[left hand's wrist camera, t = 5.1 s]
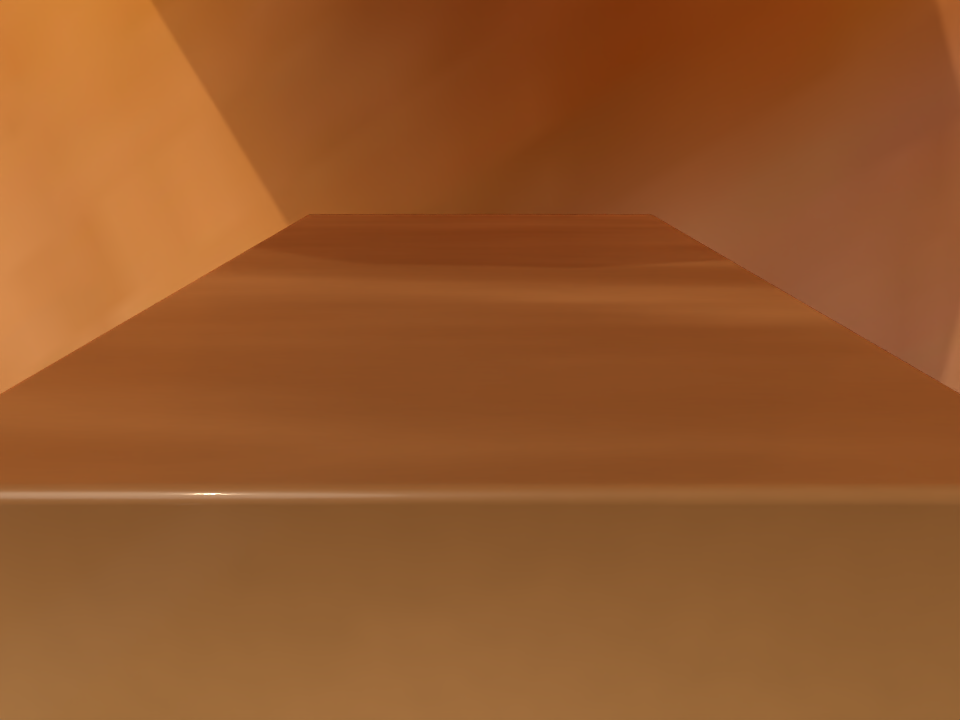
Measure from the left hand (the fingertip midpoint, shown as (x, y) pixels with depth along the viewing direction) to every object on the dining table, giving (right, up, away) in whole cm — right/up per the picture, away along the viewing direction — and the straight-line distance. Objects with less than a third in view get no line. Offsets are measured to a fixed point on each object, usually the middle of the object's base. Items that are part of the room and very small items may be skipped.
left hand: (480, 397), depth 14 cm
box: (0, -6, +4) cm, 8 cm away
